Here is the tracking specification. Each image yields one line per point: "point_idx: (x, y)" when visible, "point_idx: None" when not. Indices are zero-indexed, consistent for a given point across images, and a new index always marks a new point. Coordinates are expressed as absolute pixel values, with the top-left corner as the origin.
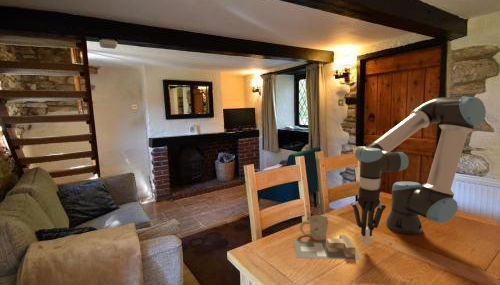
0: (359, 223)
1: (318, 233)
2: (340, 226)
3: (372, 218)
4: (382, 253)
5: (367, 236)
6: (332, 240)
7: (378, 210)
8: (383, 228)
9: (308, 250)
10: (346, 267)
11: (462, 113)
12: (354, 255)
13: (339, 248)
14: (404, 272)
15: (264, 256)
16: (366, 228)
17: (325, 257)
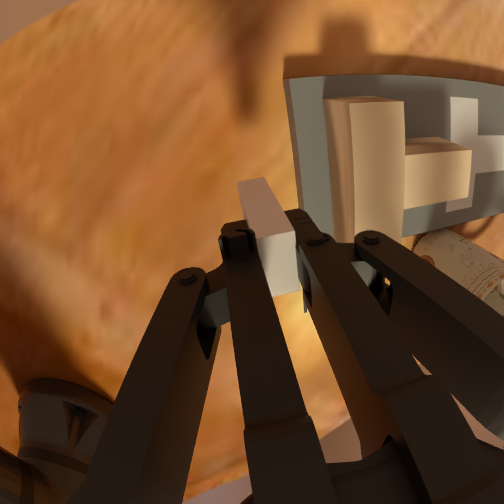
0: (395, 252)
1: (475, 246)
2: (309, 380)
3: (251, 344)
4: (146, 210)
5: (262, 204)
6: (452, 176)
7: (160, 489)
8: None
9: (497, 141)
10: (365, 35)
11: None
12: (330, 98)
13: (405, 144)
14: (69, 60)
15: None
16: (284, 256)
17: (455, 87)
